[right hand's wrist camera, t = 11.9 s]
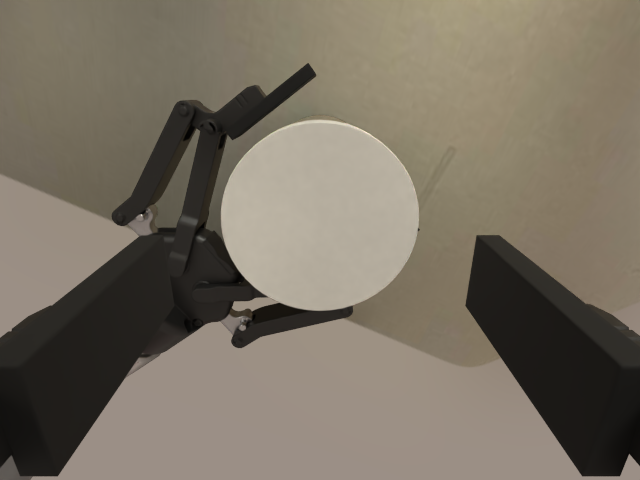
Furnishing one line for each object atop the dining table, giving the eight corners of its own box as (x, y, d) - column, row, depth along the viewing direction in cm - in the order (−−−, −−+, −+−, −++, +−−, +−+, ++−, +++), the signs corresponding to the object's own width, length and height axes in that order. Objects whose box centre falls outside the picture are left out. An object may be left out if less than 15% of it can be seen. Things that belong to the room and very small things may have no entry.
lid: (282, 79, 17) (279, 78, 15) (448, 182, 19) (460, 190, 17) (199, 245, 20) (188, 257, 18) (349, 321, 22) (351, 339, 20)
